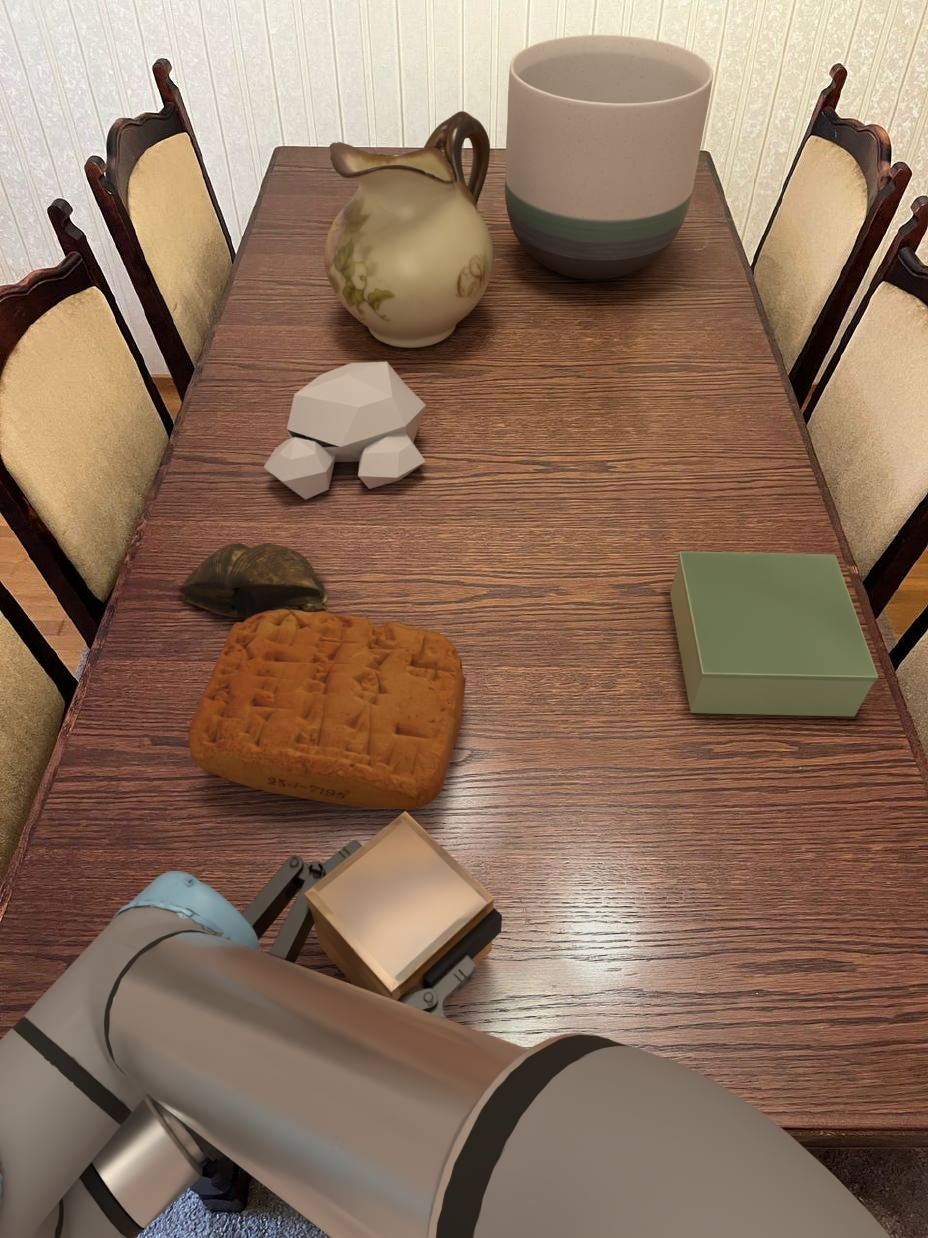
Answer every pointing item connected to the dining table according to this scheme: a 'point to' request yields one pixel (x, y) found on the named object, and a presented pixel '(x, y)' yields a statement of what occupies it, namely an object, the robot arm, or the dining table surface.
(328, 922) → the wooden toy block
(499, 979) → the dining table surface
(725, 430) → the dining table surface
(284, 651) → the cuneiform tablet
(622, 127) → the planter
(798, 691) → the green box
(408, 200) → the pitcher
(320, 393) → the rock
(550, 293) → the dining table surface
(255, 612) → the seashell
